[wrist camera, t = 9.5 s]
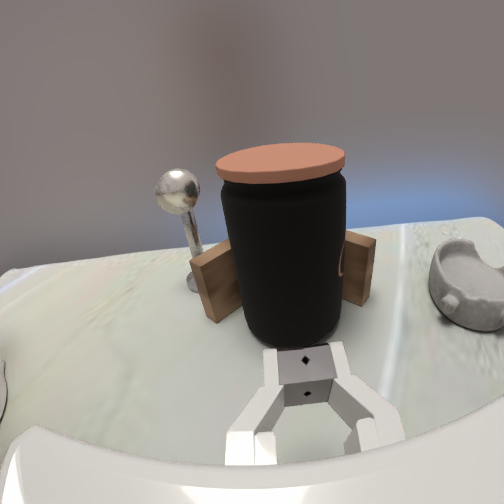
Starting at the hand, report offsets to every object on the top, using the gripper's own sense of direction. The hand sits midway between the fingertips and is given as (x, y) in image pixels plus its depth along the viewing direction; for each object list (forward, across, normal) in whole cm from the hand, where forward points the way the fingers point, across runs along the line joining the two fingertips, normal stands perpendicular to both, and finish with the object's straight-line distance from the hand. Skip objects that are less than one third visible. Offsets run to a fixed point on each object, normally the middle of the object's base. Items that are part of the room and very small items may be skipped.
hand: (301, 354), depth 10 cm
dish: (+13, -25, +14) cm, 31 cm away
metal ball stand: (+24, +10, +14) cm, 30 cm away
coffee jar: (+16, -1, +14) cm, 21 cm away
